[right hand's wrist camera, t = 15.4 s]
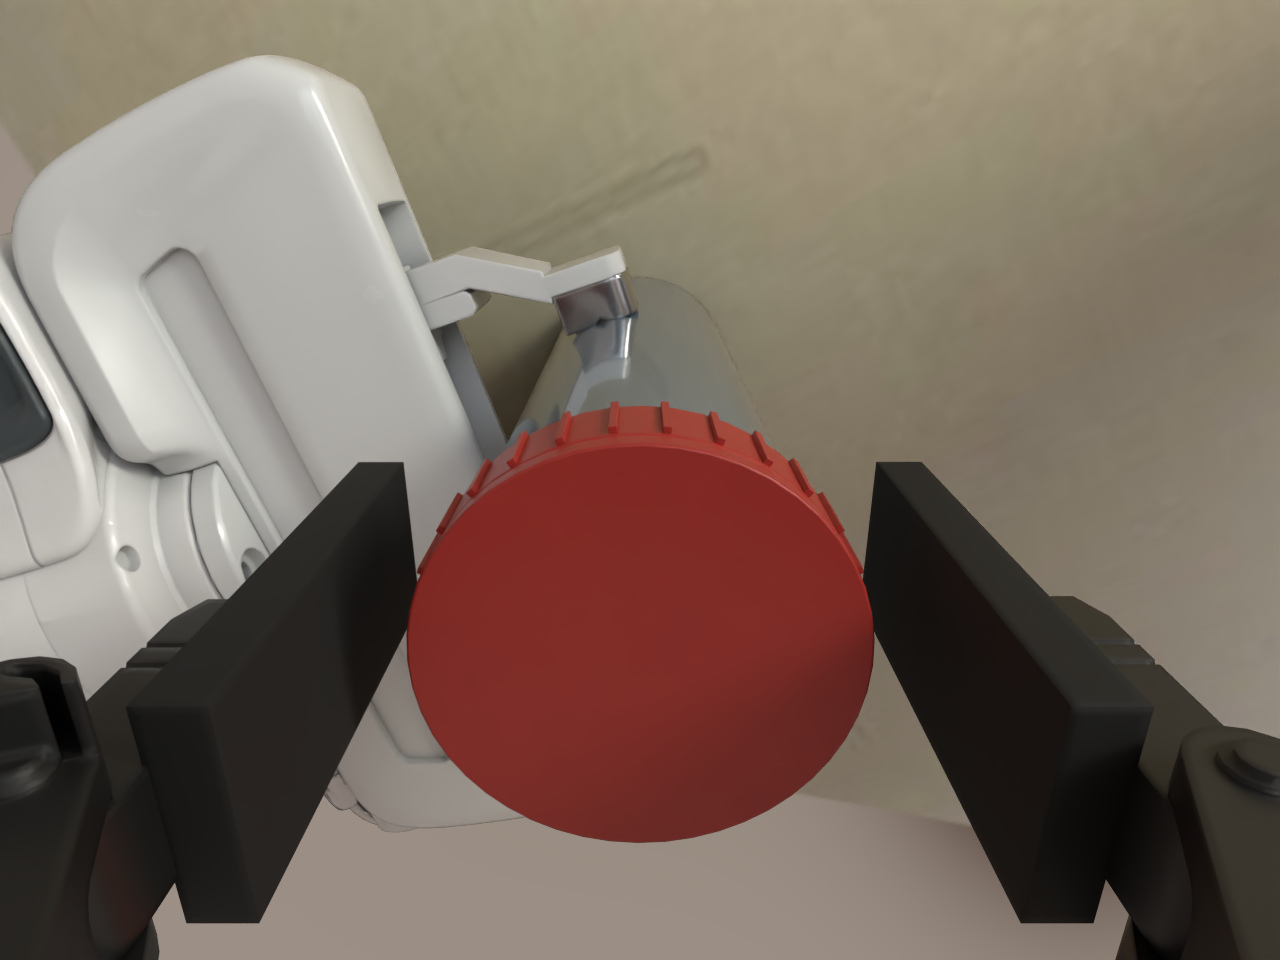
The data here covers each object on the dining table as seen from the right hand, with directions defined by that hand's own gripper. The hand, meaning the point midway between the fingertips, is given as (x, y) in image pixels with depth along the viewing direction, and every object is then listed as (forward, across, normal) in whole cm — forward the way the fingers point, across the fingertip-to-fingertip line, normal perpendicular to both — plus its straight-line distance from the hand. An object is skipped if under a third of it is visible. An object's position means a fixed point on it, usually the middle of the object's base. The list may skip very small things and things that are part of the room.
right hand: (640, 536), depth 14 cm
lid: (-3, 0, 0) cm, 3 cm away
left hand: (+7, -1, 0) cm, 7 cm away
